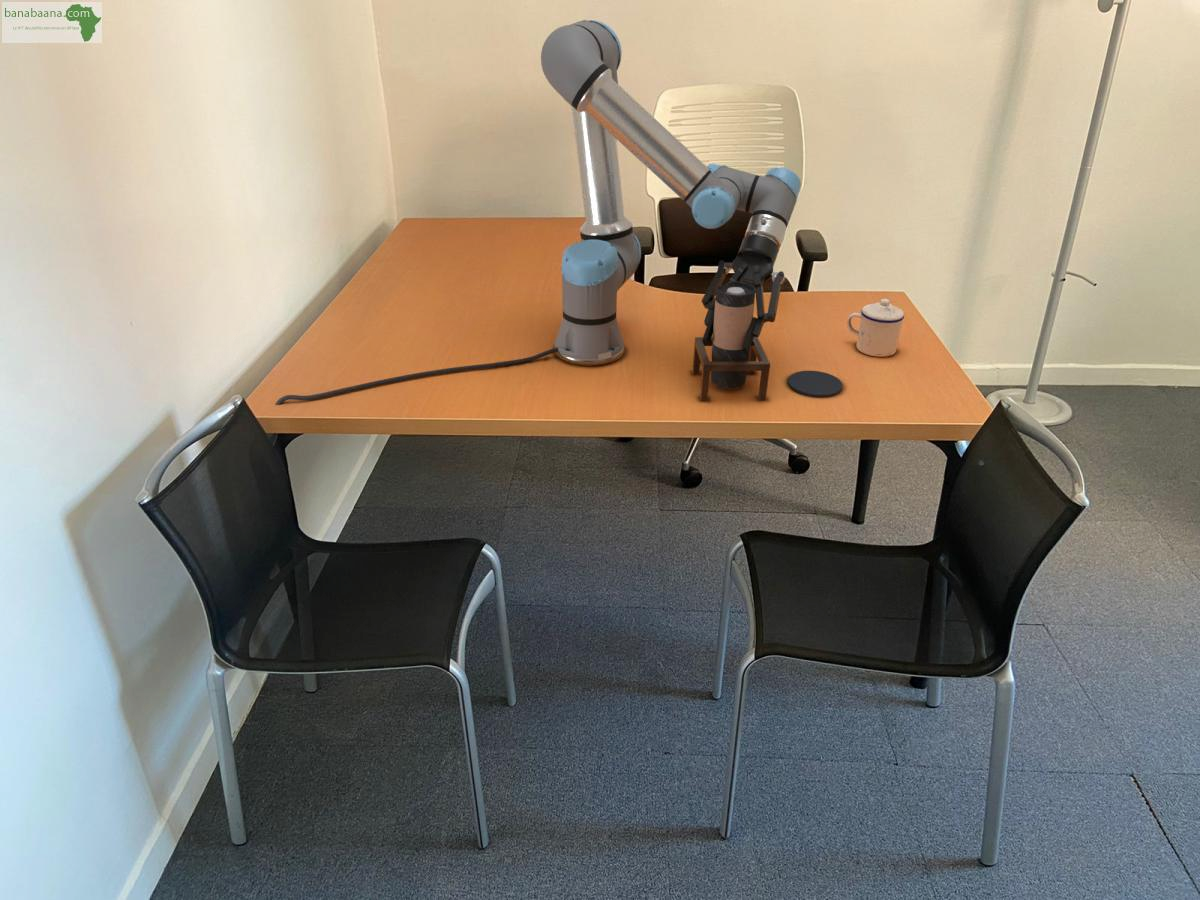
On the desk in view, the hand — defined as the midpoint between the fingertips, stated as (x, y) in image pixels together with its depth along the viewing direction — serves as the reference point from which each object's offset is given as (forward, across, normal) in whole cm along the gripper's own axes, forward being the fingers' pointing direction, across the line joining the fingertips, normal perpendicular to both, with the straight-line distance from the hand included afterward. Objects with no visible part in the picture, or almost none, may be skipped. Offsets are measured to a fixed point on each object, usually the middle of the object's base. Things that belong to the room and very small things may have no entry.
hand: (725, 345), depth 170 cm
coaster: (-2, +16, +16) cm, 23 cm away
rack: (+5, 0, +10) cm, 11 cm away
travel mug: (+4, 0, +9) cm, 10 cm away
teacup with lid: (-19, +22, +33) cm, 44 cm away
